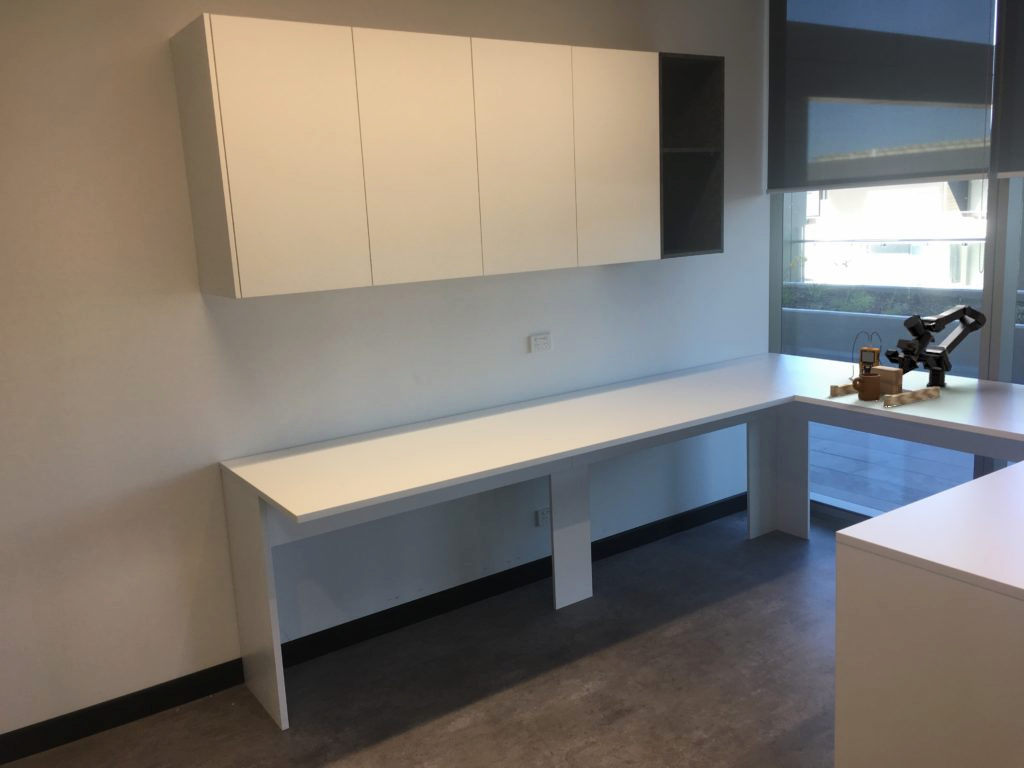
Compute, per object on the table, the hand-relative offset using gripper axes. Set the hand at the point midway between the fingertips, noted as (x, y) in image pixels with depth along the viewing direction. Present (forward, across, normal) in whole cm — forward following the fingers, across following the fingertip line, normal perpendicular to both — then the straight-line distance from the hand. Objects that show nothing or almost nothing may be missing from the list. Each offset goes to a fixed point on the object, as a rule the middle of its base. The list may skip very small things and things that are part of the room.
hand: (898, 376), depth 315 cm
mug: (+18, 0, -8) cm, 19 cm away
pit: (+3, 0, +7) cm, 7 cm away
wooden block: (+9, 0, 0) cm, 9 cm away
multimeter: (-3, -24, +12) cm, 28 cm away
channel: (+10, 0, -1) cm, 10 cm away
